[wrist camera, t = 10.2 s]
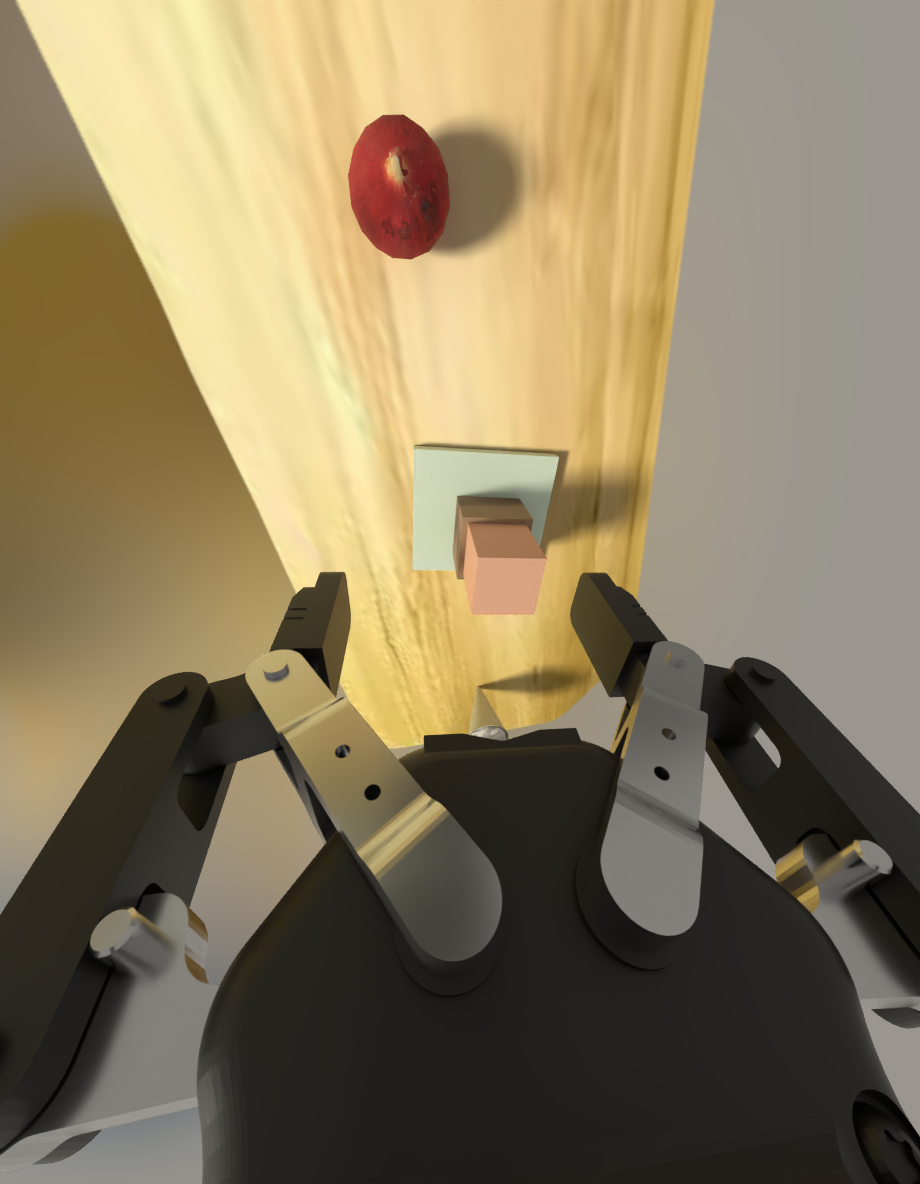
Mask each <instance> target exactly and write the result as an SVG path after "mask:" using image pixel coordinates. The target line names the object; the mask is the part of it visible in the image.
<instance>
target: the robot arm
mask: <svg viewBox="0 0 920 1184" xmlns="http://www.w3.org/2000/svg"><path fill="white" fill-rule="evenodd" d="M570 616H571V623H572V626H573V628H574V629H575V631H576V633H577V635H578V637H579V639H580V641H581V643H582V645H583V647H584V649H585V651H586V653H587V655H588V657H589V659H590V661H591V663H592V664H593V666H594V668H595V670H596V672H597V674H598V676H599V678H600V680H601V682H602V684H603V686H604V688H605V690H606V692H607V694H608V695H609V697H625V699H626V704H625V706H624V708H623V711H622V714H621V717H620V720H619V723H618V726H617V729H616V732H615V735H614V738H613V742H612V745H611V748H610V751H608V750H606V749H604V748H602V747H600V746H598V745H595V744H592V743H589V742H586V741H581V740H580V737H579V734H578V732H577V730H576V728H566V729H547V730H546V729H545V730H538V731H535V732H531V733H528V734H525V735H522V736H519V737H515V738H512V739H509V740H504V741H501V740H495V739H490V738H484V737H479V736H473V735H468V734H444V735H424V748H421V749H418V750H415V751H413V752H411V753H409V754H406V755H405V756H403V757H402V758H400V759H397V758H396V757H395V756H394V755H393V753H392V752H391V751H390V750H389V748H388V747H387V746H386V745H385V744H384V742H383V741H382V740H381V739H380V738H379V736H378V735H377V734H376V733H375V732H374V730H373V729H372V728H371V727H370V725H369V724H368V723H367V722H366V721H365V719H364V718H363V717H362V716H361V715H360V713H359V712H358V711H357V710H356V709H355V707H354V706H353V705H352V704H351V703H350V702H349V701H348V700H347V699H346V698H344V697H342V698H340V699H337V698H336V695H337V690H338V685H339V680H340V675H341V670H342V665H343V660H344V655H345V650H346V646H347V641H348V636H349V631H350V624H351V612H350V603H349V595H348V588H347V580H346V575H345V572H320V574H319V577H318V580H317V582H316V585H315V587H304V588H302V589H301V590H300V591H299V592H298V593H297V594H296V595H295V596H294V597H293V598H292V600H291V602H290V604H289V607H288V610H287V612H286V614H285V616H284V620H283V621H282V623H281V626H280V628H279V630H278V632H277V635H276V637H275V640H274V642H273V644H272V646H271V649H270V651H269V653H266V654H264V655H262V656H260V657H259V658H257V659H256V660H254V661H253V662H252V663H251V664H250V666H249V667H248V669H247V671H246V673H244V674H242V675H239V676H236V677H232V678H229V679H225V680H221V681H217V682H213V683H209V684H208V682H207V680H206V678H205V677H204V676H202V675H201V674H198V673H194V672H182V673H177V674H173V675H170V676H167V677H165V678H162V679H160V680H158V681H156V682H155V683H153V684H152V685H151V686H149V687H148V688H147V689H146V690H145V691H144V692H143V693H142V694H141V695H140V697H139V698H138V700H137V702H136V703H135V705H134V706H133V708H132V709H131V711H130V712H129V714H128V715H127V717H126V719H125V720H124V722H123V723H122V725H121V727H120V728H119V730H118V731H117V733H116V734H115V736H114V737H113V739H112V741H111V742H110V744H109V745H108V747H107V749H106V750H105V752H104V753H103V755H102V756H101V758H100V759H99V761H98V763H97V764H96V766H95V767H94V769H93V770H92V772H91V774H90V775H89V777H88V779H87V780H86V781H85V783H84V785H83V786H82V788H81V789H80V791H79V792H78V794H77V795H76V797H75V799H74V800H73V802H72V803H71V805H70V806H69V808H68V810H67V811H66V813H65V814H64V816H63V818H62V819H61V821H60V822H59V824H58V825H57V827H56V828H55V830H54V832H53V833H52V835H51V836H50V838H49V839H48V841H47V843H46V844H45V846H44V847H43V849H42V850H41V852H40V854H39V855H38V857H37V858H36V860H35V861H34V863H33V864H32V866H31V868H30V869H29V871H28V873H27V874H26V875H25V877H24V879H23V880H22V882H21V884H20V885H19V886H18V888H17V890H16V891H15V893H14V894H13V896H12V898H11V899H10V901H9V902H8V904H7V905H6V907H5V908H4V910H3V912H2V913H1V915H0V1172H8V1171H15V1170H19V1169H23V1168H25V1167H27V1166H29V1165H33V1164H46V1163H54V1162H57V1161H61V1160H63V1159H65V1158H68V1157H70V1156H71V1155H73V1154H75V1153H76V1152H78V1151H79V1150H81V1149H82V1148H83V1147H84V1146H85V1145H87V1144H88V1143H89V1142H90V1141H91V1140H92V1139H93V1138H94V1137H95V1136H96V1135H97V1134H98V1133H99V1132H100V1131H101V1130H102V1129H105V1128H109V1127H113V1126H117V1125H122V1124H125V1123H130V1122H134V1121H138V1120H142V1119H146V1118H151V1117H155V1116H159V1115H163V1114H167V1113H172V1112H175V1111H180V1110H184V1109H188V1108H193V1107H196V1106H198V1109H199V1116H200V1124H201V1133H202V1148H203V1180H202V1184H920V1136H919V1135H918V1133H917V1132H916V1130H915V1129H914V1127H913V1126H912V1124H911V1123H910V1121H909V1119H908V1118H907V1116H906V1114H905V1113H904V1111H903V1109H902V1107H901V1105H900V1103H899V1101H898V1099H897V1097H896V1095H895V1093H894V1091H893V1089H892V1087H891V1084H890V1082H889V1080H888V1078H887V1076H886V1074H885V1072H884V1070H883V1067H882V1064H881V1062H880V1060H879V1057H878V1055H877V1052H876V1050H875V1048H874V1045H873V1042H872V1039H871V1037H870V1034H869V1031H868V1028H867V1025H866V1022H865V1018H864V1014H863V1011H862V1009H872V1010H873V1011H874V1012H875V1013H876V1014H878V1015H879V1016H880V1017H882V1018H883V1019H885V1020H886V1021H888V1022H890V1023H892V1024H894V1025H897V1026H899V1027H903V1028H916V1027H920V814H919V813H918V812H917V811H916V810H915V809H914V808H913V807H912V806H911V805H910V804H909V803H908V802H907V801H906V800H905V799H904V798H903V797H902V796H901V795H900V794H899V792H898V791H897V790H896V789H895V788H893V786H892V785H891V784H890V783H889V782H888V781H887V780H886V779H885V778H884V777H883V776H882V775H881V774H880V773H879V772H878V771H877V770H876V769H875V767H874V766H872V764H871V763H870V762H869V761H868V760H867V759H866V758H865V757H864V756H863V755H862V754H861V753H860V752H859V751H858V750H857V749H856V748H855V747H854V746H853V745H852V744H851V743H850V742H849V740H848V739H847V738H845V736H844V735H843V734H842V733H841V732H840V731H839V730H838V729H837V728H836V727H835V726H834V725H833V724H832V723H831V722H830V721H829V720H828V719H827V718H826V717H825V716H824V715H823V714H822V712H821V711H820V710H819V709H817V707H816V706H815V705H814V704H813V703H812V702H811V701H810V700H809V699H808V698H807V697H806V696H805V695H804V694H803V693H802V692H801V691H800V690H799V689H798V687H797V686H795V684H794V683H793V682H792V681H791V680H790V679H789V678H788V677H787V676H786V675H785V674H784V673H783V672H781V671H780V670H779V669H777V668H776V667H774V666H773V665H771V664H769V663H767V662H764V661H761V660H759V659H755V658H749V657H742V658H739V659H737V660H736V661H735V662H734V664H733V665H732V667H731V668H730V669H727V668H722V667H718V666H713V665H708V664H704V662H703V660H702V659H701V658H700V656H699V655H698V654H696V653H695V652H694V651H693V650H691V649H690V648H688V647H686V646H684V645H682V644H679V643H675V642H671V641H668V640H667V639H666V637H665V636H664V635H663V634H662V632H661V631H660V630H659V629H658V627H657V626H656V625H655V623H654V622H653V621H652V620H651V618H650V617H649V616H648V615H646V612H645V611H644V609H643V608H642V607H640V604H639V603H638V602H637V600H636V599H635V598H634V597H633V595H631V594H630V593H628V592H627V591H625V590H624V589H623V588H621V587H617V586H616V585H615V584H614V582H613V581H612V580H611V578H610V577H609V576H608V574H606V573H583V574H582V575H581V576H580V579H579V582H578V586H577V589H576V593H575V596H574V600H573V603H572V606H571V612H570ZM760 728H762V730H763V731H764V732H765V733H766V735H767V736H768V737H769V739H770V740H771V741H772V742H773V743H774V745H775V746H776V748H777V749H778V751H779V754H780V757H781V764H780V767H779V768H777V767H776V765H775V764H774V763H773V761H772V760H771V758H770V757H769V756H768V754H767V753H766V752H765V750H764V749H763V748H762V746H761V745H760V744H759V742H758V741H757V740H756V738H755V737H754V735H755V734H756V733H757V732H758V731H759V729H760ZM270 750H273V751H274V753H275V755H276V756H277V758H278V760H279V762H280V763H281V765H282V767H283V769H284V770H285V772H286V774H287V775H288V777H289V779H290V781H291V782H292V784H293V786H294V788H295V789H296V791H297V793H298V794H299V796H300V798H301V800H302V802H303V804H304V806H305V808H306V810H307V812H308V815H309V817H310V819H311V821H312V823H313V825H314V826H315V828H316V830H317V832H318V834H319V835H320V837H321V839H322V841H323V842H324V844H325V845H324V846H323V848H322V849H321V850H320V851H319V853H318V854H317V855H316V856H315V858H314V859H313V860H312V861H311V863H310V864H309V865H308V866H307V868H306V869H305V870H304V871H303V873H302V874H301V875H300V876H299V878H298V879H297V880H296V881H295V883H294V884H293V885H292V886H291V888H290V889H289V890H288V891H287V893H286V894H285V895H284V896H283V898H282V899H281V900H280V902H279V903H278V904H277V905H276V906H275V908H274V909H273V910H272V911H271V913H270V914H269V915H268V917H267V918H266V919H265V920H264V921H263V923H262V924H261V925H260V926H259V928H258V929H257V930H256V932H255V933H254V934H253V935H252V936H251V938H250V939H249V940H248V941H247V943H246V944H245V945H244V947H243V948H242V949H241V951H240V952H239V953H238V955H237V956H236V958H235V959H234V961H233V962H232V964H231V966H230V967H229V969H228V971H227V973H226V974H225V976H224V978H223V980H222V982H221V984H217V985H211V984H209V982H208V980H207V976H206V971H205V961H206V954H207V948H208V933H207V929H206V926H205V924H204V922H203V921H202V920H201V919H200V918H199V917H198V916H197V915H196V914H195V913H194V912H193V911H192V910H191V909H190V908H189V907H190V904H191V900H192V898H193V894H194V891H195V888H196V885H197V882H198V879H199V876H200V873H201V870H202V867H203V864H204V861H205V857H206V855H207V851H208V848H209V845H210V842H211V839H212V836H213V833H214V830H215V827H216V824H217V821H218V818H219V815H220V812H221V809H222V806H223V803H224V800H225V797H226V794H227V790H228V788H229V784H230V781H231V778H232V775H233V772H234V769H235V766H236V763H237V761H240V760H243V759H246V758H249V757H252V756H255V755H258V754H261V753H264V752H267V751H270ZM705 750H706V752H707V754H708V755H709V757H710V758H711V760H712V762H713V763H714V765H715V767H716V768H717V770H718V772H719V773H720V775H721V776H722V778H723V780H724V781H725V783H726V784H727V786H728V788H729V790H730V791H731V793H732V794H733V796H734V798H735V799H736V801H737V803H738V804H739V806H740V807H741V809H742V811H743V813H744V814H745V816H746V817H747V819H748V821H749V822H750V824H751V826H752V827H753V829H754V831H755V832H756V834H757V835H758V837H759V839H760V840H761V842H762V844H763V845H764V847H765V849H766V850H767V852H768V853H769V855H770V857H771V858H772V860H773V862H774V863H775V865H776V866H775V873H776V879H777V881H775V880H774V879H773V878H771V877H770V876H769V875H767V874H766V873H765V872H764V871H763V870H761V869H760V868H759V867H758V866H756V865H755V864H754V863H752V862H751V861H750V860H749V859H747V858H746V857H745V856H744V855H742V854H741V853H740V852H739V851H737V850H736V849H735V848H734V847H732V846H731V845H730V844H729V843H727V842H726V841H725V840H723V839H722V838H721V837H719V836H718V835H717V834H716V833H715V832H713V831H712V830H711V829H710V828H708V827H707V826H706V825H704V824H703V823H702V822H701V821H699V813H700V802H701V791H702V780H703V779H702V778H703V768H704V757H705Z"/></svg>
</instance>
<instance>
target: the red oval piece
mask: <svg viewBox="0 0 920 1184" xmlns="http://www.w3.org/2000/svg"><path fill="white" fill-rule="evenodd" d="M348 178H349V188H350V197H351V206H352V209H353V211H354V214H355V216H356V218H357V221H358V223H359V225H360V228H361V230H362V232H363V233H364V234H365V235H366V236H367V238H368V239H369V240H370V241H371V242H372V243H373V245H374V246H375V247H376V248H377V249H379V250H381V251H382V252H384V253H386V254H387V255H389V256H390V257H392V258H401V259H413V258H415V257H417V256H420V255H422V254H424V253H426V252H429V251H430V249H431V248H432V247H433V245H434V244H435V243H436V241H437V240H438V239H439V237H440V236H441V235H442V233H443V231H444V227H445V223H446V219H447V215H448V211H449V188H448V174H447V171H446V168H445V166H444V163H443V160H442V157H441V154H440V151H439V149H438V147H437V146H436V144H435V143H434V142H433V140H432V139H431V138H430V137H429V135H428V134H427V133H426V131H425V130H424V129H423V128H422V127H421V126H419V125H418V124H416V123H415V122H413V121H412V120H411V119H409V118H408V117H406V116H405V115H382V116H381V117H380V118H378V119H377V120H375V121H374V122H372V123H371V124H369V125H368V126H367V127H365V129H364V131H363V133H362V134H361V136H360V138H359V140H358V141H357V143H356V145H355V147H354V149H353V154H352V159H351V164H350V169H349V174H348Z"/></svg>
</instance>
